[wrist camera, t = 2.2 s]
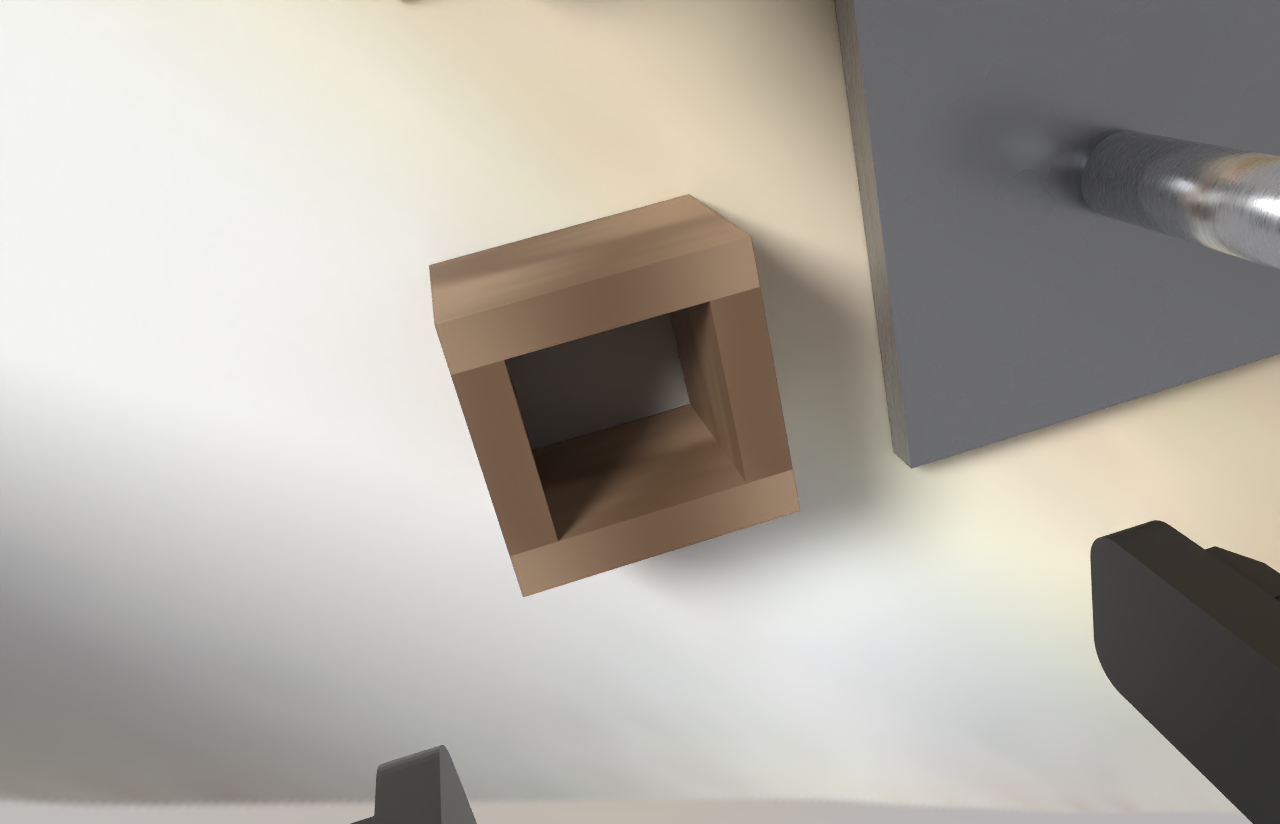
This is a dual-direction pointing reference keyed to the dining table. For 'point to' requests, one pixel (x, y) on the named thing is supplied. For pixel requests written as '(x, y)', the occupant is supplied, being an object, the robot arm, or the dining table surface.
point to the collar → (639, 450)
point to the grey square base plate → (1061, 203)
